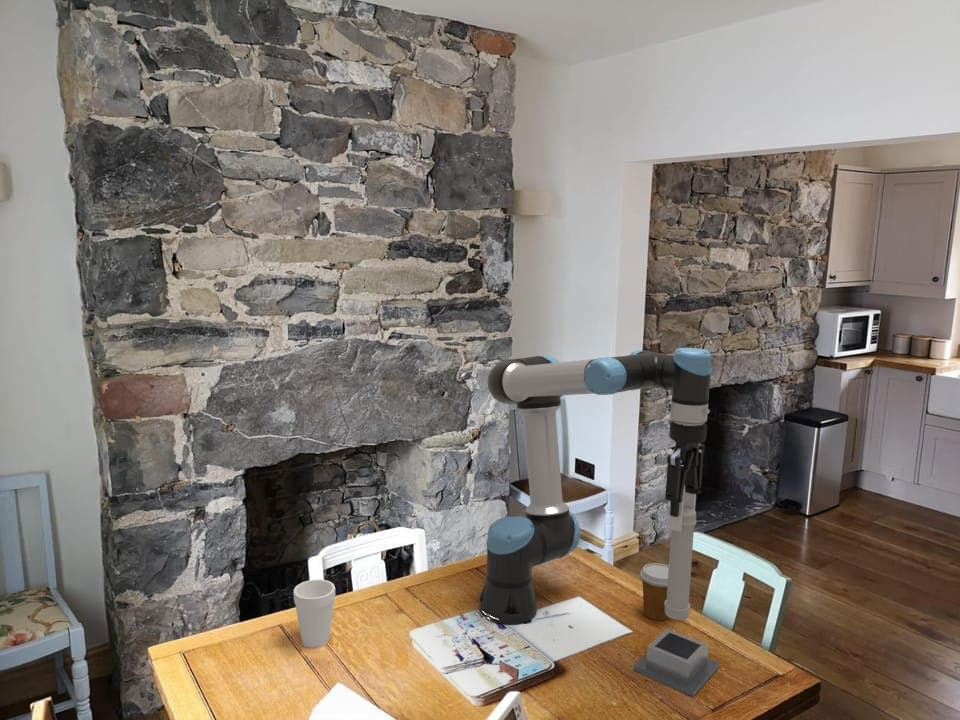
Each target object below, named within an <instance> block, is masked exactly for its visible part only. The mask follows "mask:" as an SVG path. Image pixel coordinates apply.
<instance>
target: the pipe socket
mask: <svg viewBox="0 0 960 720" xmlns="http://www.w3.org/2000/svg"><path fill="white" fill-rule="evenodd" d="M708 654H709V644H707V643H705V642H703V641H700V640H697V639H696V638H692V637H690V636H687V635H686V634H685V635H684V634H682V633H679V632H677V631H674V630H671V629H669V628H666V629H665V630H663V631H662V632H661V633H660V634H659V635H658V636H657V637H656V638H655V639H654V640H653V641H651V642H650V643H649V644H648V645H647V647H646V653H645V654H644V655H643V656H642V657H640V658H639V660H637V662H635V663H634V664H633V668H632V669H633V672H636V673H639V674H641V675H643V676H645V677H646V678H647V677H648V678H650V679H652V680H654V681H656V682H659V683H660V684H663V685H665V686H668V687H670V688H672V689H674V690H677V691H679V692H681V693H683V694H686V695H688V696H690V697H692V698H694V696H695V695H696V694H697V693H698V692H699V691H700V690H701V689H702V687H703V686H704V685H705V684H706V683H707V682H708V681H709V680H710V678H711V677H712V676H713V675H714V674H715V672H716V671H717V670H718V669H719V667H720V663H719V661H716V660H714V659H711V658H708Z"/></svg>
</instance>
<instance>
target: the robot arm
mask: <svg viewBox="0 0 960 720" xmlns="http://www.w3.org/2000/svg"><path fill="white" fill-rule="evenodd" d="M712 372H713V371H712V354H711V352H710V351H708V350H707V349H704V348H697V347H696V348H695V347H680V348H679V347H678V348H677V349H675V351H674V355H671V354H666V353H660V352H656V351H655V352H654V351H652V350H639V349H638V350H633V351H632V352H631V353H630V354H629V355H622V356H611V357H610V356H609V357H608V356H607V357H600V358H594V359H593V358H592V359H583V360H572V361H571V360H570V361H562V362H560V361H559V360H558V359H557V358H555V357H554V356H550V355H535V356H529V357H521V358H512V359H511V358H510V359H506V360H501V361H500V362H498V363H496V364H495V365H494V366H493V367H492V368H491V370H490V371H489V373H488V375H487V388H488V391H489V393H490V395H491V396H492V398H493V399H495V400H496V401H497V402H499V403H502V404H506V405H516V408H517V410H518V411H519V412H520V413H521V414H522V415H523V424H524V437H525V438H524V439H525V449H526V450H525V451H526V461H527V462H526V463H527V464H526V465H527V474H528V486H529V488H528V489H529V499H530V504H529V505H528V506H527V507H526V508H525V517H524V516H519V515H514V516H510V515H509V516H504V517H502V518H499V519H496V520H495V521H493V522H492V523H491V524H490V526H489V527H488V530H487V539H486V575H485V576H486V579H485V582H484V585H483V588H482V589H481V593H480V595H479V598H478V611H479V613H480V615H482V617H484V618H485V619H487V618H486V617H489V616H487V615H485V614H484V613H483V612H482V611H484V612H485V613H487V614H489V615H491V616H493V617H495V618H498V619H499V620H497V619H493V618H491V617H489V618H490V619H491V620H492V621H491V620H490V621H491V622H493V621H494V622H493V623H498V624H502V625H503V624H504V625H518V624H523V623H525V622H529V621H531V620H532V619H533V618H534V617H536V615H537V613H538V600H537V597H536V594H535V590H534V586H533V583H532V577H533V576H532V574H533V572H532V571H533V568H534V567H536V566H539V565H542V564H545V563H548V562H550V561H554V560H556V559H561V558H564V557H566V556H568V555H569V554H572V553H573V552H574V550H576V548H577V546H578V545H579V543H580V538H581V528H580V524H579V521H578V520H576V519H577V517H576V516H575V514H573V512H571V511H570V506H568V505H567V504H566V503H565V502H564V501H563V490H562V489H563V488H562V487H563V486H562V476H561V465H560V464H561V462H560V453H559V452H560V449H559V437H558V428H557V427H558V425H557V411H558V410H559V409H560V408H561V406H562V405H561V404H562V403H561V397H563V396H574V395H593V394H595V395H598V396H603V395H604V396H608V395H614V394H617V393H623V392H627V391H635V390H642V389H647V388H657V389H662V390H667V391H671V400H670V401H671V403H670V412H669V413H670V415H669V417H670V419H671V421H670V422H669V431H668V432H669V434H668V435H669V438H670V439H671V440H672V441H674V442H675V446H674V448H673V454H668V455H667V456H666V460H667V468H666V469H667V471H666V483H665V494H664V495H665V496H664V499H665V500H667V501H669V513H668V529H669V530H671V529H672V530H675V531H679V532H681V531H682V520H683V506H684V507H688V508H691V509H693V510H695V511H696V501H697V494H698V495H701V492H702V489H701V488H702V483H703V481H702V480H703V467H704V466H703V463H704V462H703V461H704V460H703V459H704V453H705V447H706V446H705V445H704V444H702V443H704V442H705V441H706V440H707V433H708V432H707V429H708V425H707V423H706V422H707V421H708V414H710V412H711V411H710V409H709V400H710V399H709V396H710V393H709V392H710V387H711V386H710V384H711V378H712V376H711V375H712ZM684 490H685V491H684ZM682 499H683V501H682Z"/></svg>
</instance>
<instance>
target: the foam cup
mask: <svg viewBox="0 0 960 720" xmlns="http://www.w3.org/2000/svg"><path fill="white" fill-rule="evenodd" d="M335 599H336V587H335V584H334V583H333V582H331V581H330V580H326V579H309V580H306V581H302V582H300V583H299V584H297V585H296V586H295V587H294V589H293V601H294V602H293V603H294V604H295V610H296V616H297V622H298V628H299V633H300V635H299V636H300V639H301V640H300V641H301V643H302V645H303V646H304V647H305V648H310V649H313V648H320V647H323V646H325V645H327V643H328V642H329V640H330V635H331V627H332V622H333V621H332V619H333V611H334V605H335Z"/></svg>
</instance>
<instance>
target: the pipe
mask: <svg viewBox="0 0 960 720" xmlns="http://www.w3.org/2000/svg"><path fill="white" fill-rule="evenodd" d="M682 501H683V498H682ZM696 525H697V512H696V509H695V510H693V509H691V508H688V507H684V506H683V520H682V531H681V532H679V531H675V530H672V529H670V544H669V556H668V557H669V558H668V560H669V561H668V566H669V571H668V587H667V599H666V600H665V603H664V605H665V614H666V615H667V616H668V617H669V618H670V619H672V620H675V621H684V620H687V619H688V618H689V616H690V610H691V604H690V602H689V601H690V587H691V578H692V577H691V575H692V561H693V548H694V547H693V546H694V534H695V533H694V532H695V526H696ZM669 618H668V619H669Z"/></svg>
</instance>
